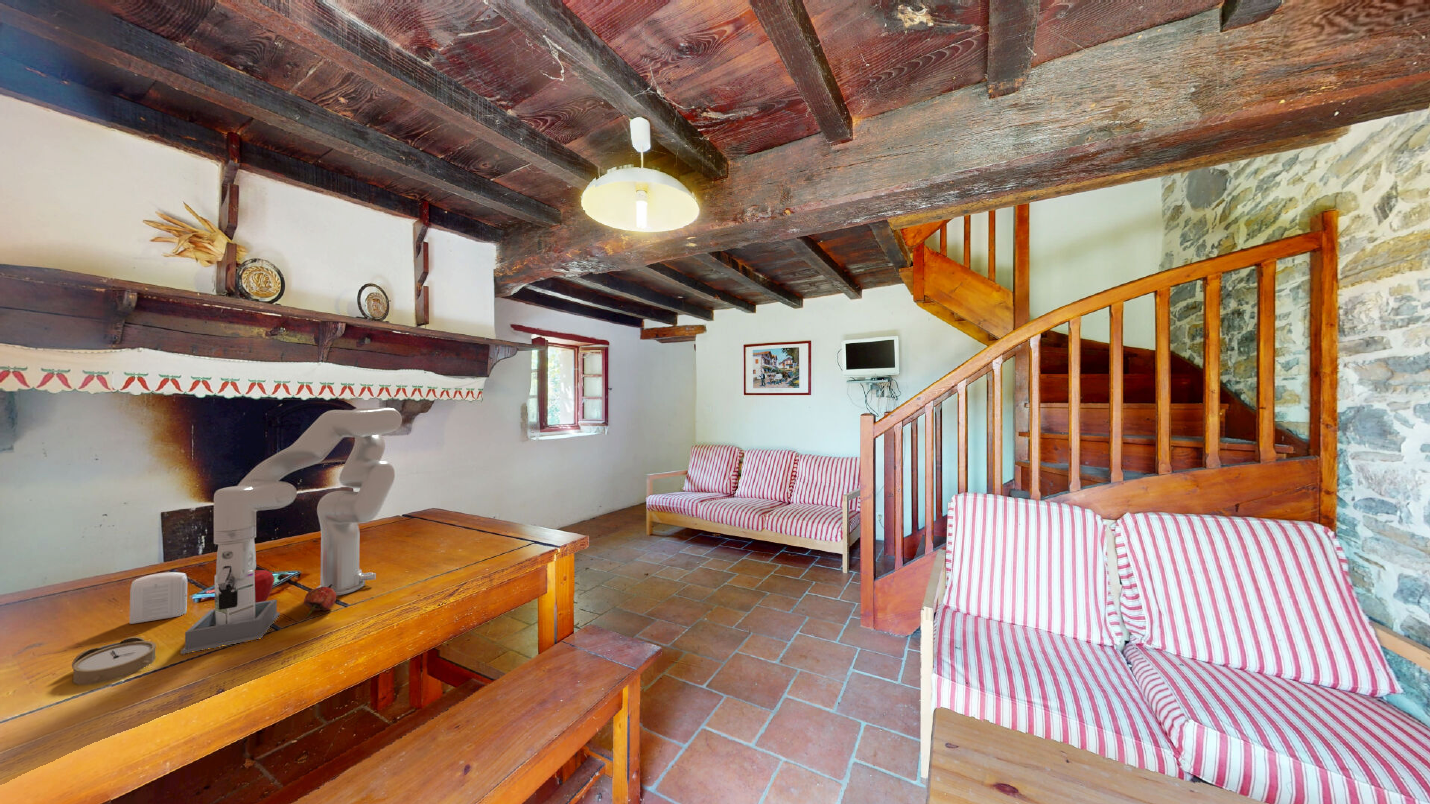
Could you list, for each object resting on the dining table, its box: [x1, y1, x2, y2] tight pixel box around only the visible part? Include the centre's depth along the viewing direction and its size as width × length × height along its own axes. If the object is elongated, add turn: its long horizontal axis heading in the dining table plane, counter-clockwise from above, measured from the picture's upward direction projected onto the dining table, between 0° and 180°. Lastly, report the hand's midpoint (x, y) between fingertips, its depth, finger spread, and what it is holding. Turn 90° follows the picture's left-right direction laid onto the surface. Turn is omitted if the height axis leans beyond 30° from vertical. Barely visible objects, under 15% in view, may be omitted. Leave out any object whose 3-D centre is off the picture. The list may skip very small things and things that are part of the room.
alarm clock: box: [71, 636, 157, 686], centre depth 102 cm, size 11×5×15 cm
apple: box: [254, 569, 275, 603], centre depth 131 cm, size 10×10×11 cm
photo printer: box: [129, 571, 188, 625], centre depth 124 cm, size 10×4×12 cm, turn 123°
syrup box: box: [214, 570, 255, 626], centre depth 116 cm, size 6×6×14 cm
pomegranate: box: [303, 584, 337, 616], centre depth 129 cm, size 7×7×10 cm
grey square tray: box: [180, 599, 281, 655], centre depth 116 cm, size 14×14×5 cm
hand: (235, 600), depth 116 cm, fingers closed on syrup box, 8 cm apart
